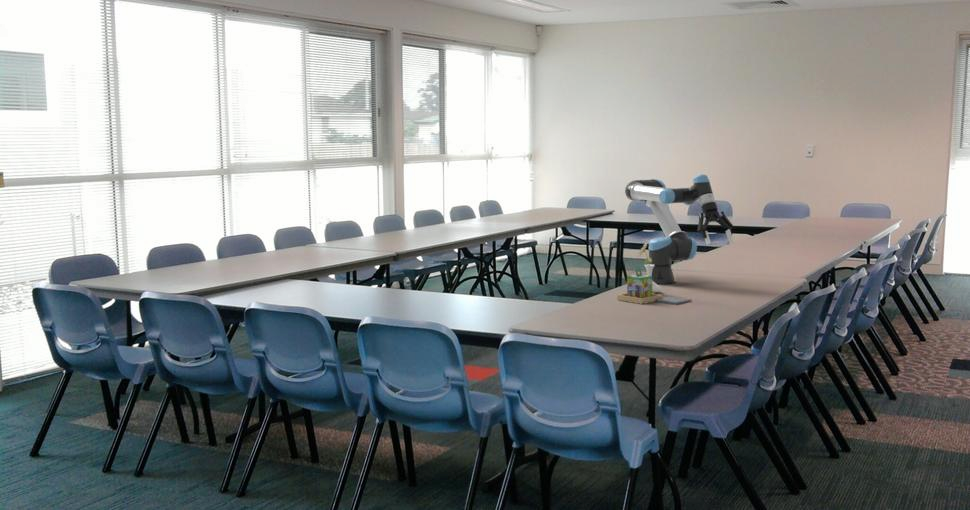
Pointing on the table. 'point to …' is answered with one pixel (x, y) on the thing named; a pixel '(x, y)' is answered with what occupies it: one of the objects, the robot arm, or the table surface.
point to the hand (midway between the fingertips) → (720, 243)
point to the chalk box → (639, 285)
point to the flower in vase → (649, 270)
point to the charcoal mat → (673, 300)
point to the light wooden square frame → (638, 300)
